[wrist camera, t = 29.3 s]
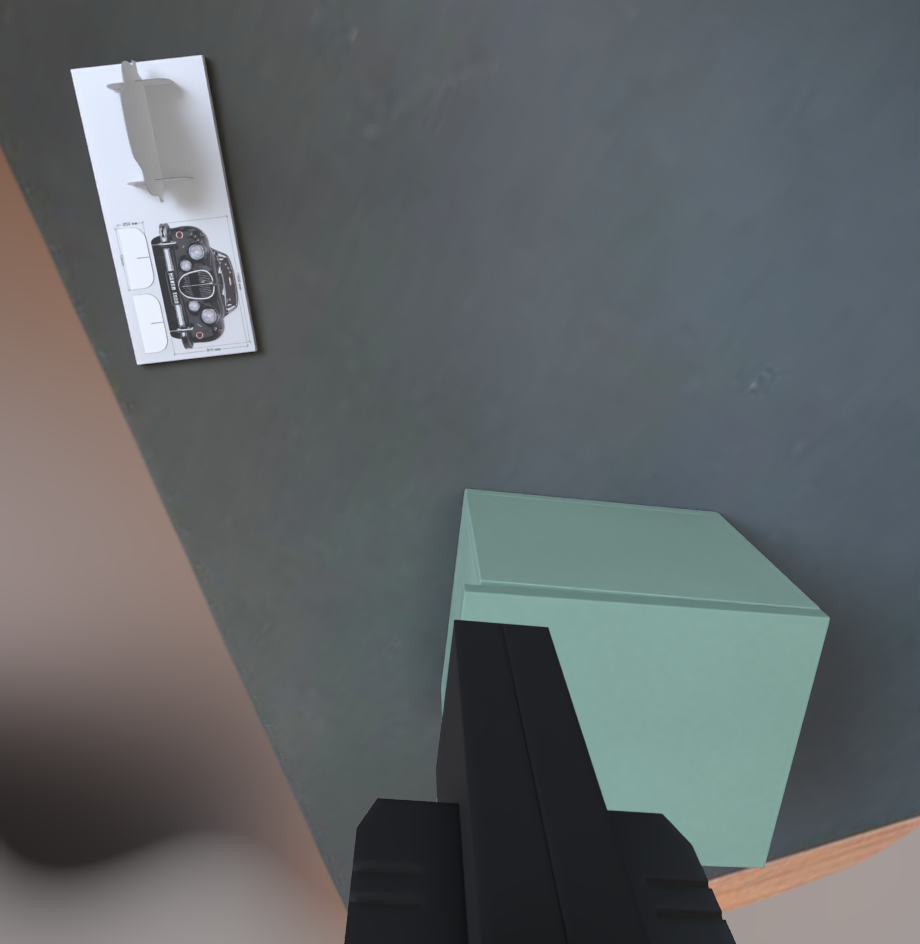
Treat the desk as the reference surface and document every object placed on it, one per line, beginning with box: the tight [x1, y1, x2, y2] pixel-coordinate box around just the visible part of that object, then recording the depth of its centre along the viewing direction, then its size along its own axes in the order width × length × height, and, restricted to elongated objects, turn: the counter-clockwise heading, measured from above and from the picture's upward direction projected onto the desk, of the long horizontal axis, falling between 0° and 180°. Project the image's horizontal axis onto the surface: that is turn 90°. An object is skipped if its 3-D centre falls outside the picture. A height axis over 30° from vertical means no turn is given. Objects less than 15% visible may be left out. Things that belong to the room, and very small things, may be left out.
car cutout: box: [70, 55, 258, 365], centre depth 41 cm, size 15×7×4 cm, turn 6°
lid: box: [436, 584, 830, 868], centre depth 37 cm, size 16×14×1 cm
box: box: [441, 489, 820, 716], centre depth 44 cm, size 16×14×13 cm
